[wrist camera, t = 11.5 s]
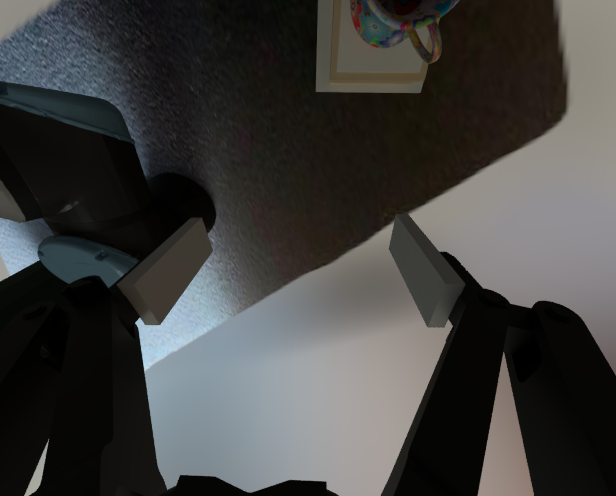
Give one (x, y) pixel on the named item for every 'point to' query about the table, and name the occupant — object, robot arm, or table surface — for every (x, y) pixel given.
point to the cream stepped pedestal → (364, 57)
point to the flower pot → (29, 292)
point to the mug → (400, 22)
